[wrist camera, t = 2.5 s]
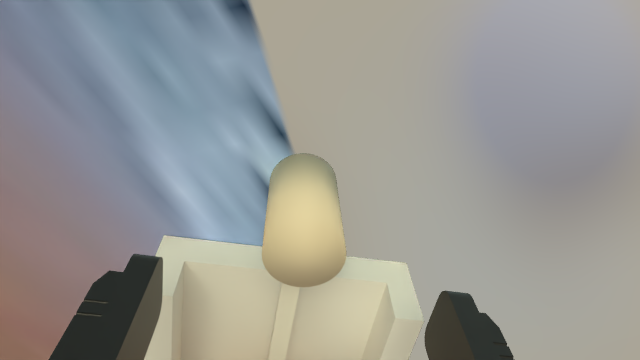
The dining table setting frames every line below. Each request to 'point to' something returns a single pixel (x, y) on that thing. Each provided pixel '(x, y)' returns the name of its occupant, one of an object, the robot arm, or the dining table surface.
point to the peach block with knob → (300, 236)
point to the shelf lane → (261, 300)
